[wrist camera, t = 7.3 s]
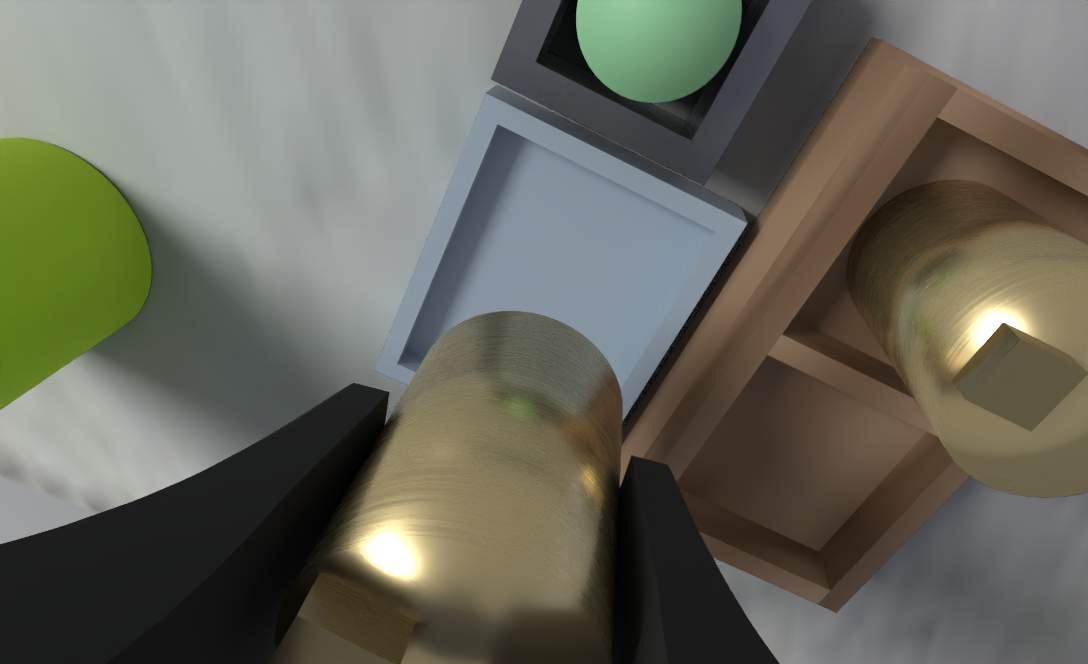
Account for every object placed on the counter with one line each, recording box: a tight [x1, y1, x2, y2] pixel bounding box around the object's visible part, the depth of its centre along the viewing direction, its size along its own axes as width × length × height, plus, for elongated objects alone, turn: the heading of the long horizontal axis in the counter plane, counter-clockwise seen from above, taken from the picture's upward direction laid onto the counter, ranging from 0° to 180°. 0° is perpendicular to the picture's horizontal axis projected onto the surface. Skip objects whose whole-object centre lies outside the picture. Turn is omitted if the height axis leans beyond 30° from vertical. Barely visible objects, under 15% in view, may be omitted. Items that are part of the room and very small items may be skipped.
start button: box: [576, 0, 742, 103], centre depth 14 cm, size 3×3×3 cm
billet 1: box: [267, 311, 623, 664], centre depth 11 cm, size 4×4×7 cm
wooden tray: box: [620, 37, 1088, 613], centre depth 18 cm, size 8×13×2 cm, turn 155°
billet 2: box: [846, 180, 1088, 498], centre depth 14 cm, size 4×4×7 cm
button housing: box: [491, 0, 812, 185], centre depth 15 cm, size 5×5×2 cm
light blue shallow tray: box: [374, 85, 748, 420], centre depth 19 cm, size 7×8×1 cm
